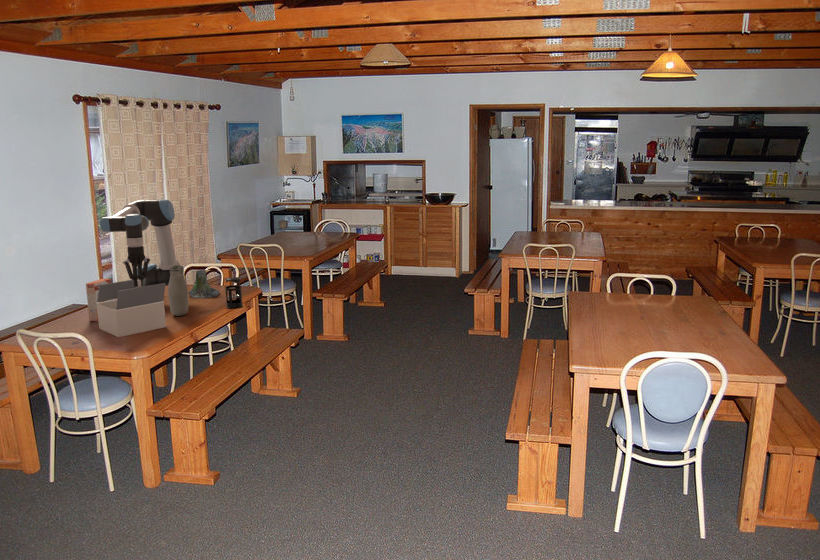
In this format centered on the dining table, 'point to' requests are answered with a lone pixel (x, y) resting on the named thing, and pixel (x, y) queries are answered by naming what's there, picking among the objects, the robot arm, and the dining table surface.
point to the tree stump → (202, 287)
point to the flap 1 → (114, 289)
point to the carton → (130, 318)
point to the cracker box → (94, 297)
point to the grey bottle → (178, 291)
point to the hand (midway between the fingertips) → (139, 292)
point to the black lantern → (233, 303)
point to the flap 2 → (140, 296)
